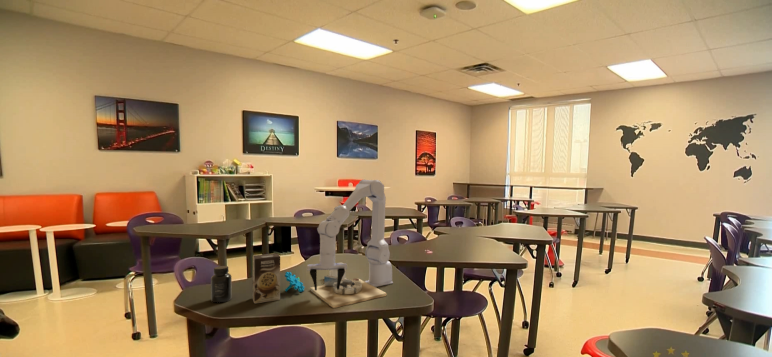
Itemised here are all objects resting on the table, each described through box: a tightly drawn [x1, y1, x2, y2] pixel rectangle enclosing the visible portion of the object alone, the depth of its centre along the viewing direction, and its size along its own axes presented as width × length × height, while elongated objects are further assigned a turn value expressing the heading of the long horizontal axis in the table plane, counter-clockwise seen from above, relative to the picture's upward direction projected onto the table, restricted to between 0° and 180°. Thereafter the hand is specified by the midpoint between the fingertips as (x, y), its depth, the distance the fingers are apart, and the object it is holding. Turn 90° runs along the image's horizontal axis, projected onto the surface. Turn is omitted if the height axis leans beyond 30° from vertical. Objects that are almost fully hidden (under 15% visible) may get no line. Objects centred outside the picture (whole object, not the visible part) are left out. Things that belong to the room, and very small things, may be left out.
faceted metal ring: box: [323, 274, 362, 294], centre depth 134 cm, size 16×11×4 cm
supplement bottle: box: [210, 265, 233, 304], centre depth 125 cm, size 7×7×12 cm
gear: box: [284, 271, 305, 293], centre depth 135 cm, size 11×6×10 cm
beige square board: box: [309, 277, 388, 309], centre depth 133 cm, size 22×22×4 cm
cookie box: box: [252, 252, 281, 304], centre depth 126 cm, size 9×6×16 cm
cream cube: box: [328, 269, 347, 280], centre depth 152 cm, size 6×6×6 cm
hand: (326, 289), depth 128 cm, fingers open, 7 cm apart
